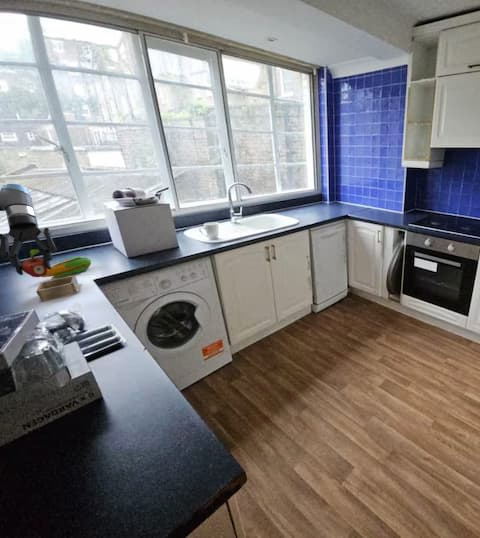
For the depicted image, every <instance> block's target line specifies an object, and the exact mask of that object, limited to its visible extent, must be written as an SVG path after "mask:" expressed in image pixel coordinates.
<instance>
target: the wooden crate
mask: <svg viewBox="0 0 480 538" xmlns="http://www.w3.org/2000/svg"><path fill="white" fill-rule="evenodd" d="M79 289H80V282H79V281H78V279H77V277H76V275H75V274H72V275H69V276H65V277H60V278H53V279H50V280H46V281H41V282H40V283H39V285H37V289H36V291H35V292H36V295H37V296H38V298H39V300H40V302H41V303H43V302H47V301H51V300H55V299H59V298H63V297H67V296H71V295H76V294H78V293H79Z"/></svg>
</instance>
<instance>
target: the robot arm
mask: <svg viewBox="0 0 480 538" xmlns="http://www.w3.org/2000/svg"><path fill="white" fill-rule="evenodd" d="M0 212H5V215H6V219H7V224H8V228H9V231H8V233H5V234H3V233H0V257H1V258H2V259H4V260H6V261H7V260H9V263H10V265H11V266H12V268H15V272H16V273H17V274H18V275H19V276H23V275H24V271H23V270H22V268H21V265H22V262H21V259H20V257H18V256H19V253H20V250H21V247H22V245H23V244H24V243H25V242H28V241H29V242H30V241H31V242H32V241H34V242H36V243H37V245H38V246H39V247H40V248H41V249H42V250H43V251H41V253H42V258H43V259H44V262H45V266H46V267H47V268H48V269H51V267H52V266H51V261H53V256H52V253H54V252H58V249H57V247H56V245H55V242H54V240H53V238H52V231H51V230H50V229H49V228H48V227H45V228H40V227H39V223H38V220H37V216H36V212H35V208H34V205H33V199H32V196H31V193H30V191H29V189H28V188H27V187H26V186H24V185H22V184H18V183H7V184H3V185H1V187H0ZM40 234H43V235H44V237H45V239H46V242H47V244H48V246H49V247H47V246H46V245H45V244H44V243H43V242H42V240H40V238H39V236H40ZM11 237H12V238H13V243H12V244H11V248H10V238H11Z"/></svg>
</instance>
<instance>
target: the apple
mask: <svg viewBox="0 0 480 538" xmlns="http://www.w3.org/2000/svg"><path fill="white" fill-rule="evenodd" d="M40 252H41V250H39V249H30V251H29V254H30V258H29V259H26V260H24V261H23V262H21V268H22V272H23V273H25V274H27V275H29V276H31V277H33V278H42V277H41V276H44V275H46V274H47V270H48V268H47V267H46V266H45V262H44V258H43V257H34V256H35V255H37V254H39V253H40Z"/></svg>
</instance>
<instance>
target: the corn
mask: <svg viewBox="0 0 480 538" xmlns="http://www.w3.org/2000/svg"><path fill="white" fill-rule="evenodd" d="M51 265H52V266H51ZM91 265H92V260H91V259H90V258H88V257H85V256H72V257H69V258H65V259H61V260H58V261H56V262H53V263H50V266H51V269H48V270H47V274H46V275H44V276H41V277H40V278H50V277H51V279H59V278H64V277H68V276H73V275H75V274H78V273H81V272H84V271H86V270H87V269H88V268H90V267H91Z"/></svg>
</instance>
